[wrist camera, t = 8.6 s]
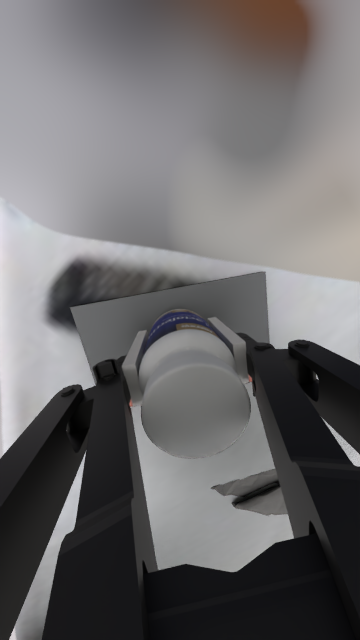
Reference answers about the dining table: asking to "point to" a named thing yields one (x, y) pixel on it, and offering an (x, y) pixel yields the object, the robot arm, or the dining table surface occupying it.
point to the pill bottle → (190, 388)
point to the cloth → (261, 503)
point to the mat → (143, 310)
